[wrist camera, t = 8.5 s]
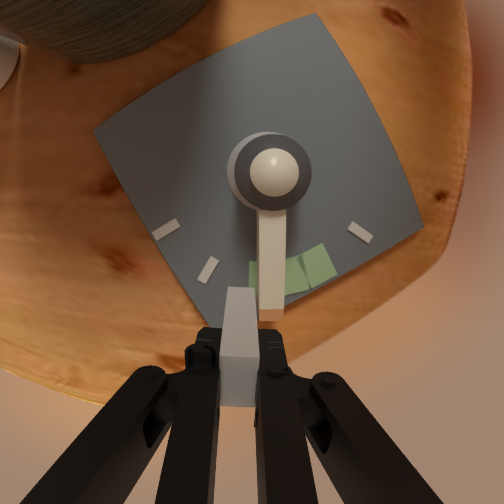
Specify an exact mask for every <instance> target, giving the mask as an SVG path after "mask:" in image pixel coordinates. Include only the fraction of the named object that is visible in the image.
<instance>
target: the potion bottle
mask: <svg viewBox="0 0 504 504" xmlns="http://www.w3.org/2000/svg"><path fill="white" fill-rule="evenodd" d="M18 55H19V42H16V41H14V40H11V39H8V38H6V37H3V36H0V89H1V88H2V87H3V86H4V85H5V84H6V82H7V81H8V79H9V78H10V76H11V74H12V73H13V70H14V68H15V66H16V63H17V59H18Z"/></svg>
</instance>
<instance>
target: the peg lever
mask: <svg viewBox="0 0 504 504" xmlns="http://www.w3.org/2000/svg"><path fill="white" fill-rule="evenodd" d="M311 177H312V168H311V163H310V160H309V157H308V155H307V153H306V152H305V150H304V149H303V148H302V147H301V145H299V144H298V143H297V142H296V141H294V140H293V139H291V138H289V137H287V136H284V135H279V134H266V135H262V136H259V137H256V138H254V139H253V140H251V141H249V142H248V143H247V144H246V145H245V146H244V147H243V148H242V149H241V151H240V152H239V154H238V156H237V159H236V162H235V166H234V178H235V183H236V185H237V188H238V190H239V192H240V193H241V195H242V196H243V197H244V198H245V199H246V200H247V201H248V202H249V203H250V204H252V205H253V206H255V207H256V214H257V305H258V314H259V322H262V321H284V294H285V256H286V208H289V207H291V206H293V205H294V204H296V203H297V202H298V201H300V200H301V199H302V197H303V196H304V195H305V194H306V192H307V190H308V188H309V186H310V183H311Z"/></svg>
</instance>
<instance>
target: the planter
mask: <svg viewBox="0 0 504 504" xmlns="http://www.w3.org/2000/svg"><path fill="white" fill-rule="evenodd" d="M208 1H209V0H0V36H3V37H6V38H8V39H11V40H14V41H16V42H19V43H22V44H24V45H27V46H29V47H32V48H34V49H37V50H39V51H42V52H44V53H46V54H49V55H51V56H53V57H55V58H58V59H60V60H63V61H67V62H71V63H81V64H90V63H100V62H106V61H110V60H114V59H118V58H121V57H124V56H127V55H130V54H133V53H135V52H138V51H140V50H142V49H145V48H147V47H149V46H151V45H153V44H155V43H157V42H158V41H160V40H162V39H164V38H165V37H167V36H168V35H170V34H172V33H173V32H174V31H176V30H177V29H179V28H180V27H181V26H183V25H184V24H185V23H187V22H188V21H189V20H190V19H191V18H193V17H194V16H195V15H196V14H197V13H198V12H199V11H200V10H201V9H202V8H203V7H204V6H205V5H206V3H207V2H208Z"/></svg>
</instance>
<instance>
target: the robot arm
mask: <svg viewBox="0 0 504 504" xmlns="http://www.w3.org/2000/svg"><path fill="white" fill-rule="evenodd" d="M185 365H186V369H185V370H183V371H181V372H178V373H172V374H166V373H165V371H164V370H163V369H162V368H160V367H157V366H152V365H150V366H143V367H140V368H138V369H137V370H136V371H135V372H134V373H133V374H132V375H131V376H130V377H129V378H128V379H127V381H126V382H125V383H124V384H123V385H122V386H121V387H120V389H119V390H118V391H117V392H116V393H115V394H114V395H113V397H112V398H111V399H110V400H109V401H108V402H107V403H106V404H105V406H104V407H103V408H102V409H101V410H100V411H99V412H98V414H97V415H96V416H95V417H94V418H93V419H92V420H91V422H90V423H89V424H88V425H87V426H86V427H85V429H84V430H83V431H82V432H81V433H80V434H79V435H78V436H77V438H76V439H75V440H74V441H73V442H72V443H71V445H70V446H69V447H68V448H67V449H66V450H65V451H64V453H63V454H62V455H61V456H60V457H59V458H58V459H57V461H56V462H55V463H54V464H53V466H51V468H50V469H49V470H48V471H47V473H45V475H44V476H43V477H42V478H41V479H40V480H39V482H38V483H37V484H36V485H35V486H34V487H33V489H32V490H31V491H30V492H29V493H28V494H27V495H26V497H25V498H24V499H23V500H22V501H21V503H20V504H123V503H124V502H125V500H126V499H127V497H128V495H129V494H130V492H131V491H132V489H133V487H134V486H135V484H136V483H137V481H138V479H139V477H140V476H141V475H142V473H143V471H144V470H145V468H146V466H147V465H148V463H149V461H150V460H151V458H152V457H153V455H154V453H155V452H156V450H157V448H158V447H159V445H160V443H161V442H162V440H163V438H164V437H165V435H166V433H167V432H168V430H169V429H170V427H171V431H170V435H169V440H168V444H167V449H166V453H165V458H164V462H163V467H162V471H161V476H160V481H159V486H158V490H157V495H156V500H155V504H213V501H214V486H215V471H216V457H217V443H218V430H219V417H220V411H219V410H220V406H238V407H255V404H256V410H255V420H254V427H255V433H256V457H257V458H256V460H257V484H258V485H257V486H258V504H318V499H317V494H316V488H315V483H314V477H313V472H312V467H311V462H310V456H309V451H308V446H307V441H306V437H307V439H308V440H309V442H310V444H311V446H312V448H313V449H314V451H315V453H316V455H317V457H318V458H319V460H320V462H321V464H322V466H323V467H324V469H325V471H326V472H327V474H328V476H329V478H330V480H331V481H332V483H333V485H334V487H335V489H336V490H337V492H338V494H339V495H340V497H341V499H342V501H343V502H344V504H444V503H443V502H442V501H441V500H440V499H439V497H438V496H437V495H436V494H435V492H434V491H433V490H432V489H431V488H430V486H429V485H428V484H427V483H426V481H425V480H424V479H423V478H422V476H421V475H420V474H419V473H418V471H417V470H416V469H415V468H414V467H413V465H412V464H411V463H410V462H409V460H408V459H407V458H406V457H405V455H404V454H403V453H402V452H401V450H400V449H399V448H398V447H397V445H396V444H395V443H394V442H393V440H392V439H391V438H390V437H389V435H388V434H387V433H386V432H385V430H384V429H383V428H382V427H381V426H380V424H379V423H378V422H377V421H376V419H375V418H374V417H373V415H372V414H371V413H370V412H369V410H368V409H367V408H366V407H365V406H364V404H363V403H362V402H361V400H360V399H359V398H358V397H357V395H356V394H355V393H354V392H353V390H352V389H351V388H350V387H349V385H348V384H347V383H346V382H345V380H344V379H343V378H342V377H341V376H339V375H338V374H335V373H332V372H320V373H317V374H316V375H314V376H313V378H312V379H308V378H303V377H300V376H297V375H295V374H294V373H293V372H292V370H291V368H290V367H289V366H288V364H287V359H286V354H285V349H284V344H283V339H282V335H281V334H280V333H279V332H278V331H277V330H276V329H258V327H257V314H256V300H255V288H247V287H228V289H227V297H226V305H225V313H224V321H223V328H211V327H203V328H202V329H201V330H200V331H199V332H198V334H197V338H196V342H195V344H192V345H190V346H188V347H187V348H186V349H185ZM171 425H172V426H171ZM305 435H306V437H305Z"/></svg>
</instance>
